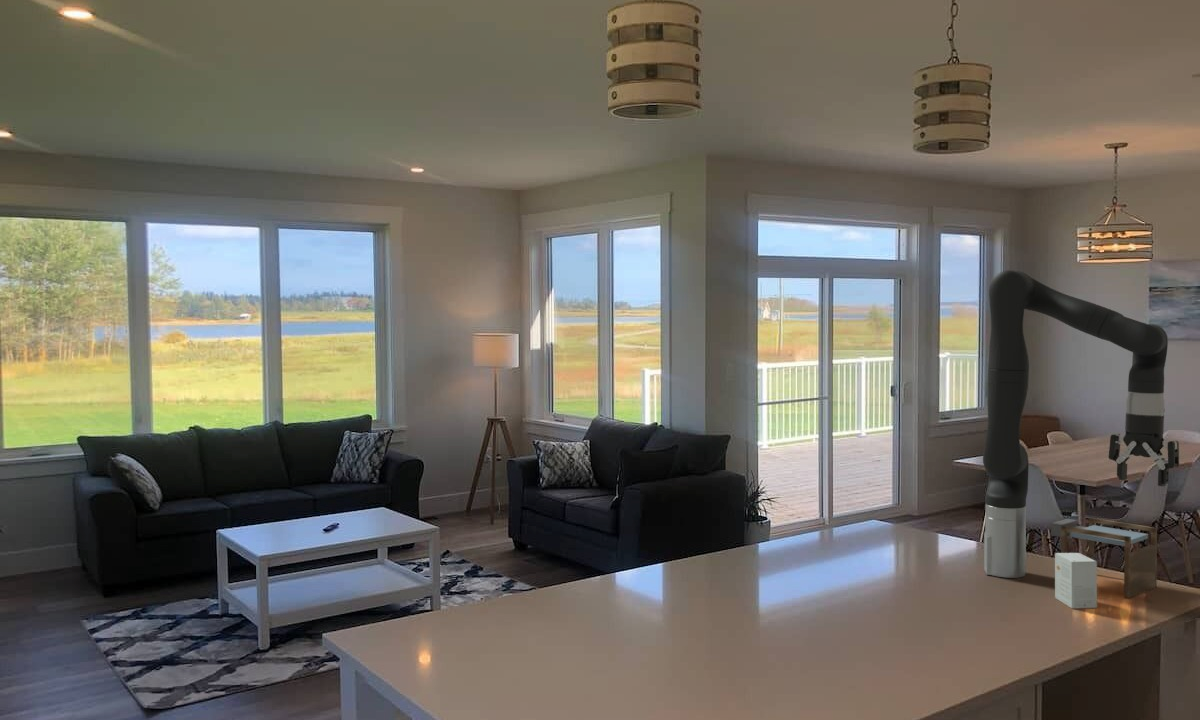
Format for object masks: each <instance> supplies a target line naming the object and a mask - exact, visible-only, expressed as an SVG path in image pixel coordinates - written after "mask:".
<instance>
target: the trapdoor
mask: <svg viewBox="0 0 1200 720" xmlns="http://www.w3.org/2000/svg"><path fill="white" fill-rule="evenodd" d="M1061 526H1069V527H1075V528H1081V529H1087V530H1093V531H1099V532H1105V533H1111V534H1117V535H1123V536H1129V537H1131V545H1133V544H1136V543H1139V542H1141V541H1145V540H1148V539H1149V533H1144V532H1137V531H1131V530H1125V529H1120V528H1113V527H1107V526H1101V525H1095V524H1094V525H1093V526H1089V525H1088V526H1082V525H1078V520H1077V519H1072V518H1071V519H1070V518H1065V519H1061V520H1057V521H1054V522H1051V523H1050V536H1051V537H1059V538H1061ZM1067 536H1069V537H1070V538H1075V539H1082V540H1086V541H1087V540H1088V541H1089V540H1092V541H1094V542H1099V543H1104V544H1110V545H1116V546H1121V547H1125V541H1124V540H1118V539H1112V538H1106V537H1100V536H1095V535H1089V534H1083V533H1077V532H1071V531H1067Z"/></svg>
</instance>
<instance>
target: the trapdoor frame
mask: <svg viewBox="0 0 1200 720" xmlns="http://www.w3.org/2000/svg"><path fill="white" fill-rule="evenodd" d="M1095 523H1096V524H1102V525H1108V526H1115V527H1121V528H1127V529H1133V530H1140V531H1145V532H1150V534H1151V535H1150V544H1149V545H1147V546H1146V545H1145V546H1144V547H1140V548H1139V549H1135V550H1133V551H1131V549H1132V548H1131V545H1132V544H1131V537H1129V536H1123V535H1117V534H1111V533H1105V532H1099V531H1093V530H1087V529H1081V528H1075V527H1069V526H1061V537H1060V539H1061V540H1060V553H1068V548H1067V546H1068V535H1067V531H1071V532H1077V533H1083V534H1089V535H1095V536H1100V537H1106V538H1112V539H1118V540H1124V541H1125V546H1124V568H1123V570H1124V571H1123V572H1124V573H1123V575H1124V576H1123V577H1124V578H1123V589H1124V590H1123V597H1124V599H1131V598H1134V597H1136V596H1138V595H1140V594H1143V593H1145V592H1148V591H1149V590H1150V591H1151V590H1152V589H1155V588H1157V583H1158V582H1157V579H1158V578H1157V576H1158V575H1157V574H1158V573H1157V571H1158V568H1157V567H1158V563H1157V562H1158V560H1157V559H1158V555H1157V554H1158V527H1154V526H1147V525H1141V524H1135V523H1129V522H1121V521H1116V520H1110V519H1109V520H1108V519H1103V518H1095V517H1089V518H1088V527H1089V526H1093V525H1095ZM1088 558H1091V559H1093V560H1095V541H1092V540H1088Z"/></svg>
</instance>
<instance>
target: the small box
mask: <svg viewBox="0 0 1200 720" xmlns="http://www.w3.org/2000/svg"><path fill="white" fill-rule="evenodd" d="M1097 572H1098V562H1097V560H1095V559H1094V560H1093V559H1091V558H1089V556H1086V555H1084V554H1082V553H1080V552H1067V553H1061V552H1055V553H1054V599H1055V600H1058V601H1059V602H1061V603H1063V604H1064V605H1065V606H1067V607H1069V608H1071V610H1072V609H1097V608H1098V573H1097Z"/></svg>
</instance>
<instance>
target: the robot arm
mask: <svg viewBox="0 0 1200 720" xmlns="http://www.w3.org/2000/svg"><path fill="white" fill-rule="evenodd" d="M988 297H989V298H988V299H989V310H990V337H989V350H988V365H987V368H988V369H987V428H986V437H985V443H984V449H983V454H982V463H983V467H984V469H985V471H986V473H987V474H988V484H987V488H986V492H985V509H984V510H985V516H984V517H985V519H984V521H985V522H984V523H985V524H984V525H985V526H984V527H985V530H984V533H983V535H984V538H983V539H984V541H983V547H984V548H983V549H984V550H983V551H984V552H983V559H984V560H983V562H984V563H983V569H984V572H985V574H986V575H988V576H993V577H1000V578H1005V579H1006V578H1008V579H1009V578H1011V579H1013V578H1014V579H1015V578H1023V577H1024V576H1026V562H1027V561H1026V557H1027V556H1026V553H1027V552H1026V549H1027V548H1026V547H1027V546H1026V545H1027V543H1026V541H1027V540H1026V538H1027V536H1026V532H1027V528H1026V526H1027V524H1026V523H1027V518H1026V517H1027V497H1028V493H1029V492H1028V491H1029V455H1028V452H1027V450H1026V448H1025V447H1024V446H1023V445H1022V444H1021V443H1020V441H1021V440H1020V438H1021V437H1020V428H1021V418H1022V415H1023V413H1024V412H1023V411H1024V409H1025V408H1024V407H1025V404H1026V400H1027V395H1028V390H1029V379H1030V378H1029V374H1030V373H1029V372H1030V371H1029V370H1030V365H1029V364H1030V362H1029V361H1030V360H1029V355H1028V354H1029V353H1028V348H1027V344H1026V340H1025V336H1024V335H1025V334H1024V326H1023V325H1024V315H1025V314H1024V313H1025V310H1028V311H1032V312H1035V313H1036V312H1037V313H1039V314H1042V315H1045V316H1048V317H1051V318H1053V319H1056V320H1057V321H1060V322H1061V323H1063V324H1065V325H1067V326H1069V327H1071V328H1073V329H1074V330H1075V329H1076V330H1077V331H1080V332H1083V333H1085V334H1088V335H1089V336H1093V337H1095V338H1097V339H1101V340H1102V341H1106V342H1107V341H1108V342H1110V343H1112V344H1114V345H1116V346H1118V347H1120V348H1121V349H1124V350H1127V351H1129V352H1131V353H1132V363H1131V364H1132V365H1131V368H1130V370H1129V371H1128V372H1129V373H1128V380H1127V381H1128V382H1127V385H1128V386H1127V391H1128V392H1127V397H1126V403H1125V424H1124V425H1125V426H1124V427H1125V428H1124V429H1125V434H1124V435H1122V434H1120V433H1116V434H1111V435H1110V437H1109V447H1108V448H1109V449H1108V459H1109V460H1110V461H1111V460H1112V461H1114V462H1116V463H1115V464H1116V465H1117V466H1116V477H1118V479H1119V481H1125V480H1127V478H1128V463H1127V462H1128V461H1129V460H1130V459H1131V458H1132V457H1133V456H1135V457H1144V458H1151V459H1152V461H1153V462H1155V463H1156V465H1157V466H1158V468H1159V469H1158V470H1157V471H1158V474H1157V486H1158V487H1166V485H1167V484H1168V483H1169V479H1170V477H1169V475H1170V470H1171V469H1175V468H1179V467H1180V447H1179V446H1180V445H1179V441H1177V440H1165V439H1164V429H1165V428H1164V427H1165V424H1164V423H1165V412H1166V409H1165V408H1166V407H1165V405H1166V404H1165V393H1164V392H1165V366H1166V361H1167V355H1168V354H1167V353H1168V343H1169V342H1168V341H1169V339H1168V338H1169V337H1168V335H1167V332H1166V331H1165V330H1164V328H1163V327H1161V326H1160V325H1156V324H1152V323H1151V324H1148V323H1144V322H1142V321H1139V320H1137V319H1132V318H1129V317H1126V316H1125V315H1123V314H1122V313H1120V312H1118V311H1115V310H1114V309H1113V310H1112V309H1110V308H1108V307H1105V306H1102V305H1100V304H1096V303H1093V302H1091V301H1087V300H1084V299H1081V298H1078V297H1074V296H1071V295H1069V294H1065V293H1064V292H1060V291H1058V290H1056V289H1055V288H1051V287H1050V286H1047V285H1045V284H1043V283H1042V282H1040V281H1038V280H1036V279H1035V278H1033V277H1032V276H1029V275H1028V273H1025V272H1023V271H1018V270H1010V269H1009V270H1007V269H1006V270H1003V271H1001V272H999V273H997V274H996V275H995V276H993V278H992V279H991V281H990V284H989V288H988ZM1123 443H1124V444H1125V445H1126V448H1124V450H1123V451H1122V452H1121V453H1120V451H1121V445H1122V444H1123ZM1164 447H1165V450H1166V451H1167V456H1166V455H1165V454H1164V452H1163V451H1162V448H1164ZM1166 457H1167V459H1166Z"/></svg>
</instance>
